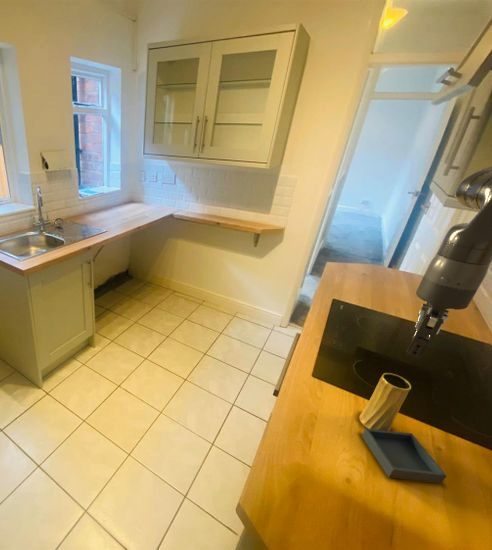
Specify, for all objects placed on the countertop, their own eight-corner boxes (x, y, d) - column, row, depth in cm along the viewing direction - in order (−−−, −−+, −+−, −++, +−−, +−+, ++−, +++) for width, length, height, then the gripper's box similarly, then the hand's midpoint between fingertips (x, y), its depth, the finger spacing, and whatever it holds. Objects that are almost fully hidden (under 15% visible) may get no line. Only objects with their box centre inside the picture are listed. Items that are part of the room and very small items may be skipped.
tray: (407, 440, 71) (412, 433, 70) (441, 483, 63) (447, 475, 61) (361, 435, 72) (365, 428, 71) (388, 477, 64) (393, 469, 62)
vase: (354, 412, 78) (374, 370, 72) (379, 415, 78) (402, 372, 72) (367, 433, 73) (390, 389, 67) (395, 436, 72) (421, 392, 66)
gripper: (480, 299, 51) (436, 372, 58) (479, 275, 60) (441, 341, 67) (420, 283, 56) (387, 353, 63) (428, 263, 65) (398, 326, 72)
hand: (415, 347), depth 65 cm, fingers open, 8 cm apart
